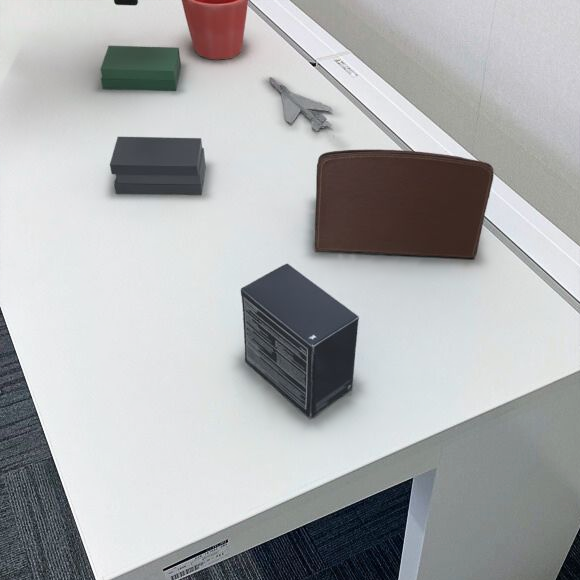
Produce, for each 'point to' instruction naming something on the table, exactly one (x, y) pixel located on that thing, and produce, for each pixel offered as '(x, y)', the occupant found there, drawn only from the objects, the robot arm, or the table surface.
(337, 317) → the small box
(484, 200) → the letter holder
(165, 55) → the green book stack
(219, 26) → the flower pot
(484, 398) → the table surface
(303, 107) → the toy airplane
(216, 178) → the table surface
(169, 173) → the grey book stack
